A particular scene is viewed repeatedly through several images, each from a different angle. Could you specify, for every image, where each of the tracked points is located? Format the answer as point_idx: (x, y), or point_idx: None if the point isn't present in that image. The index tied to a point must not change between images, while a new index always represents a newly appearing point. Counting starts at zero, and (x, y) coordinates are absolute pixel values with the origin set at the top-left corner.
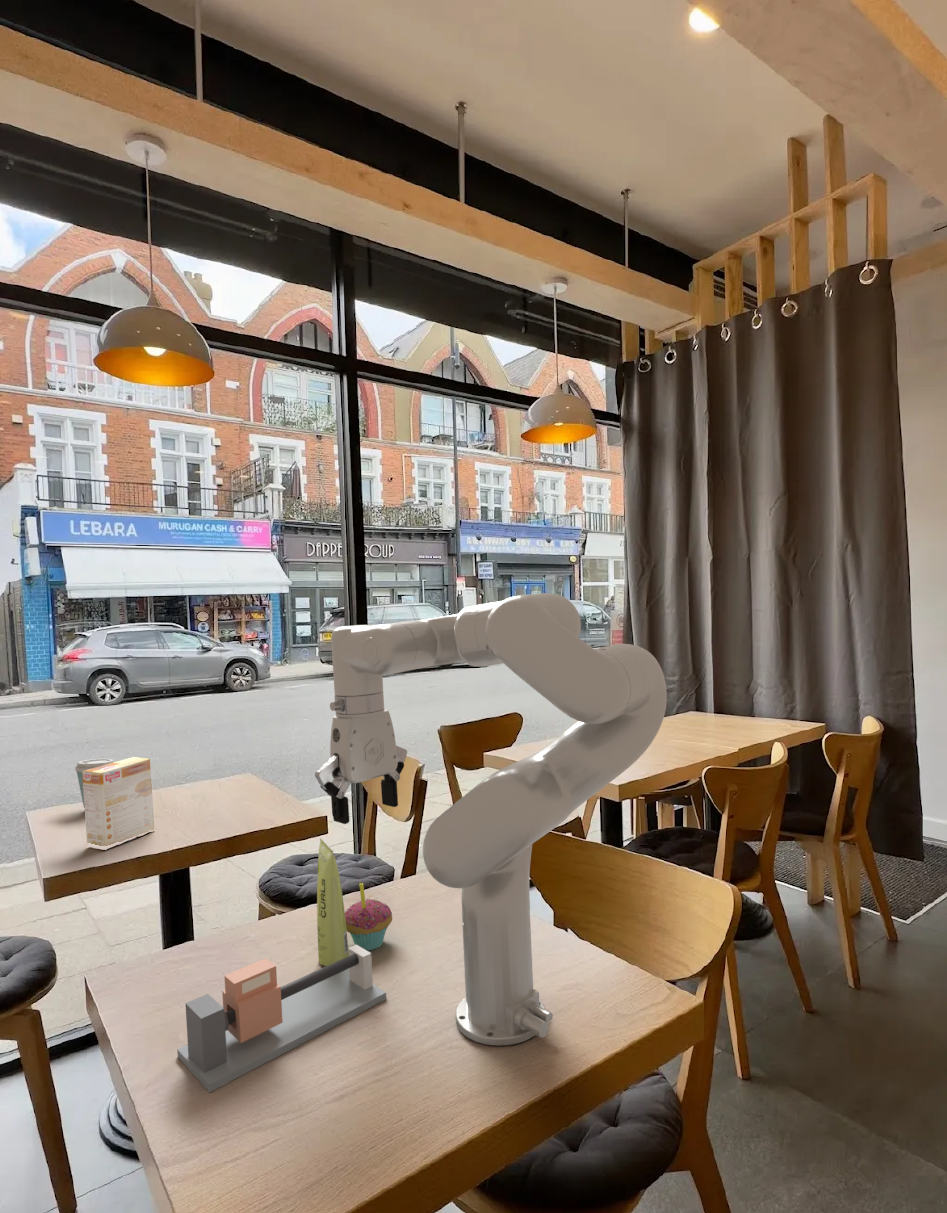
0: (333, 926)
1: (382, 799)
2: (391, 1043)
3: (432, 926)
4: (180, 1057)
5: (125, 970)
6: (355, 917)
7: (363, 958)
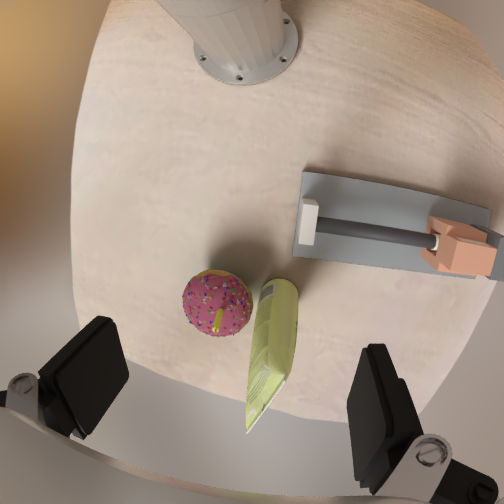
0: (288, 305)
1: (121, 385)
2: (357, 105)
3: (146, 252)
4: None
5: None
6: (241, 306)
7: (317, 205)
